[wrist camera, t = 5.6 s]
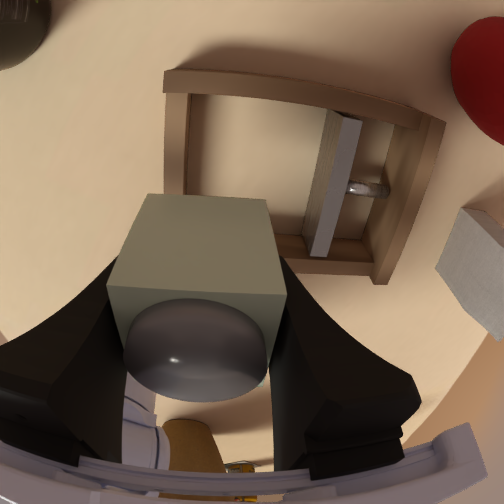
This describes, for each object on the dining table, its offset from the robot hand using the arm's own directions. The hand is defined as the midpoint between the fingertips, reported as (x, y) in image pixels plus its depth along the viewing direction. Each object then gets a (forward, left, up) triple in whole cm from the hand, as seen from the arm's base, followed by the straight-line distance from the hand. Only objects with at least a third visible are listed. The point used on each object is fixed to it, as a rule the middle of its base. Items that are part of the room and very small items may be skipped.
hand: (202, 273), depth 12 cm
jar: (0, 0, -2) cm, 2 cm away
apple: (+11, -18, -11) cm, 24 cm away
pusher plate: (0, -9, -10) cm, 14 cm away
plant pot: (-41, +3, -11) cm, 42 cm away
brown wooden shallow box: (0, -5, -11) cm, 12 cm away
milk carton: (-4, -23, -11) cm, 26 cm away
